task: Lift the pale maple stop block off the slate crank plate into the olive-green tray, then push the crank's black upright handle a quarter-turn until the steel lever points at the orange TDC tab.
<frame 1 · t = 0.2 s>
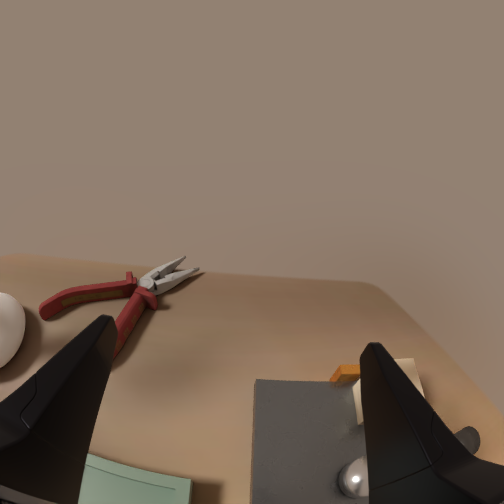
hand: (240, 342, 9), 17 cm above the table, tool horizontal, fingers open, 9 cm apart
pliers: (125, 320, 30), on the table
stop block: (374, 404, 22), point 1 cm above the table, touching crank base
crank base: (350, 482, 17), on the table
flower in vase: (0, 342, 22), on the table
crank: (412, 464, 15), point 5 cm above the table, hinge at -90.0°
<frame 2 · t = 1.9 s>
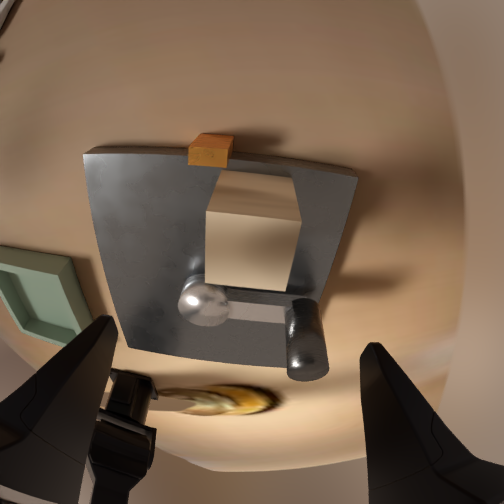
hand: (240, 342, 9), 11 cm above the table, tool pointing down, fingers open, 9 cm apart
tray: (45, 294, 26), on the table
stop block: (253, 204, 17), point 1 cm above the table, touching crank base
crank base: (210, 276, 23), on the table
crank: (249, 329, 19), point 5 cm above the table, hinge at -90.0°
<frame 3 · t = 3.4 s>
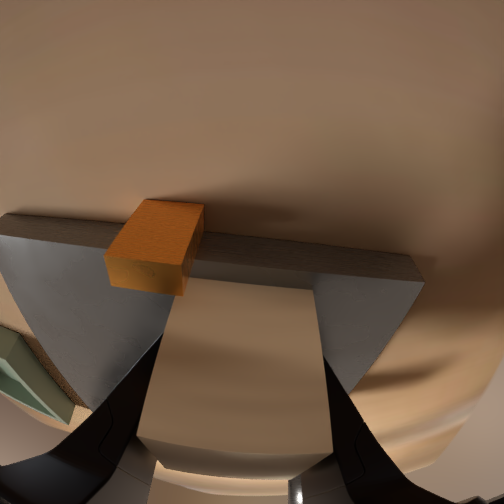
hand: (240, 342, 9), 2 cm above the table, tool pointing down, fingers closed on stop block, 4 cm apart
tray: (7, 357, 18), on the table
stop block: (241, 325, 10), point 1 cm above the table, touching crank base, gripper
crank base: (188, 378, 15), on the table
crank: (240, 463, 11), point 5 cm above the table, hinge at -90.0°
when the fingers open (4 cm above the table, at t = 8.3 s): stop block drops 2 cm, resting on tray.
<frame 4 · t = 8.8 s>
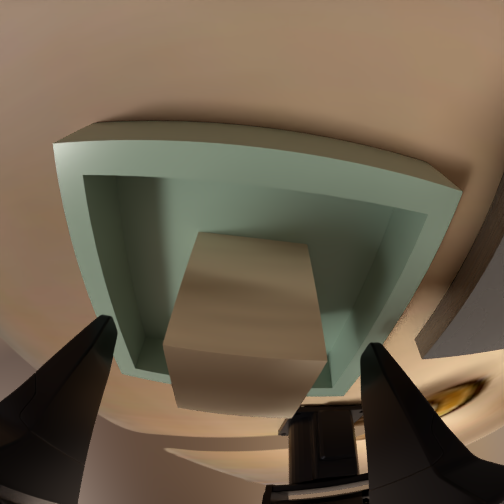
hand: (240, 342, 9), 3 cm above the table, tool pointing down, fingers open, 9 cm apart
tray: (245, 273, 12), on the table
stop block: (247, 279, 12), resting on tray
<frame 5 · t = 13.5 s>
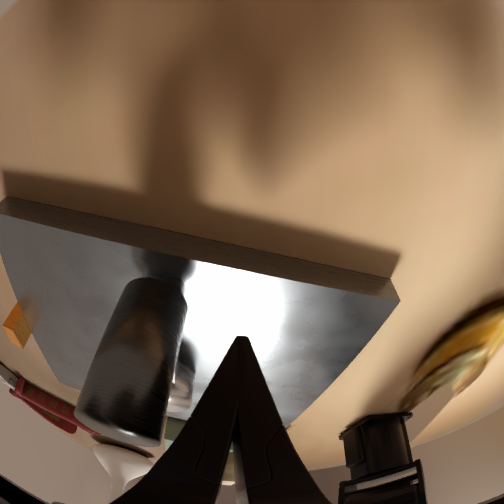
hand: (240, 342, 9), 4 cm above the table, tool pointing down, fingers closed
pliers: (43, 390, 27), on the table
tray: (219, 441, 28), on the table
stop block: (218, 444, 28), resting on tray
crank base: (170, 348, 17), on the table
flower in vase: (124, 448, 38), on the table
crank: (148, 394, 11), point 5 cm above the table, hinge at -87.4°, touching gripper
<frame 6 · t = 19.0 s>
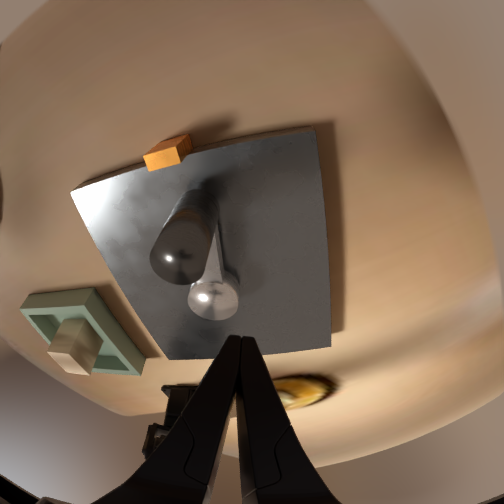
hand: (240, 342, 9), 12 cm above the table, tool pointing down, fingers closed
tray: (84, 328, 29), on the table
stop block: (83, 330, 29), resting on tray
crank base: (218, 271, 23), on the table
crank: (201, 281, 17), point 5 cm above the table, hinge at -8.5°
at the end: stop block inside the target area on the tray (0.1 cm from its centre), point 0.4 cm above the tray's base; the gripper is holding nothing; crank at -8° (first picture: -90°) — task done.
